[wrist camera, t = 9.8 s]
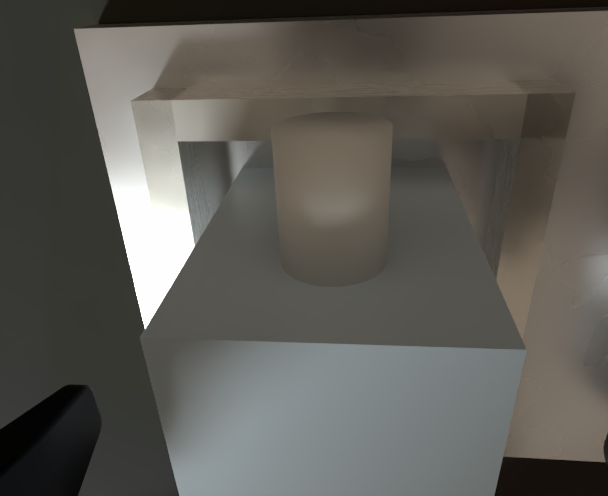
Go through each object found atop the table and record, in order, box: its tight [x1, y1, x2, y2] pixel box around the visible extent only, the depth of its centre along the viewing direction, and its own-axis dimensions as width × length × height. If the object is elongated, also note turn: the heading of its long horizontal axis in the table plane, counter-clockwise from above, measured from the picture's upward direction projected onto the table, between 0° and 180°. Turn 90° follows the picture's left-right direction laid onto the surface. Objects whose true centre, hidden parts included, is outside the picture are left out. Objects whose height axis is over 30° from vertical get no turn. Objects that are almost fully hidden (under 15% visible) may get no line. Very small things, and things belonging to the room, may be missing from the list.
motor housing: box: [74, 7, 608, 462], centre depth 10 cm, size 19×12×7 cm, turn 92°
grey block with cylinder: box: [140, 112, 527, 496], centre depth 9 cm, size 4×8×6 cm, turn 2°
